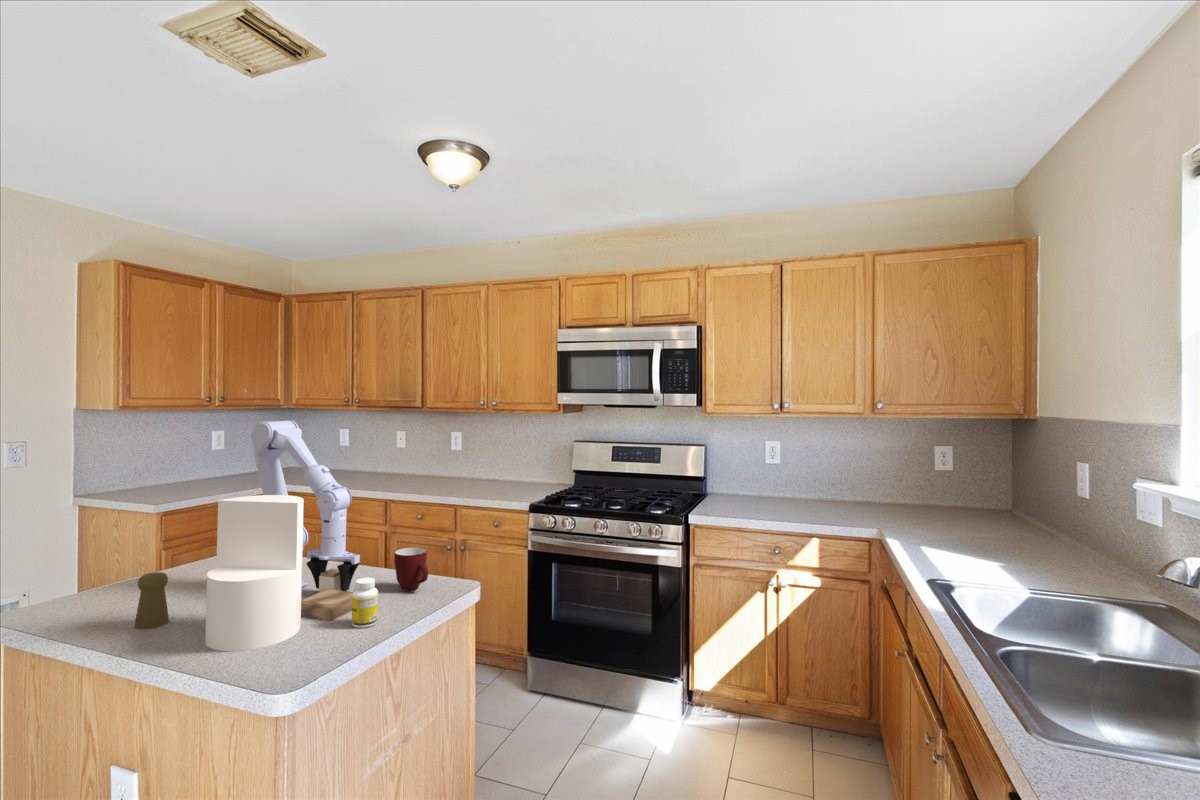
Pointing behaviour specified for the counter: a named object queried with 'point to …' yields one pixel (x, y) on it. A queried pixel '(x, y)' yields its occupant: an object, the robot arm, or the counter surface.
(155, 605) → the cork
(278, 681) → the counter surface
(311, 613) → the tan square tray
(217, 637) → the cream chair shape
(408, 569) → the mug
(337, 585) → the beige rectangular block
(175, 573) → the counter surface
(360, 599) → the supplement bottle
